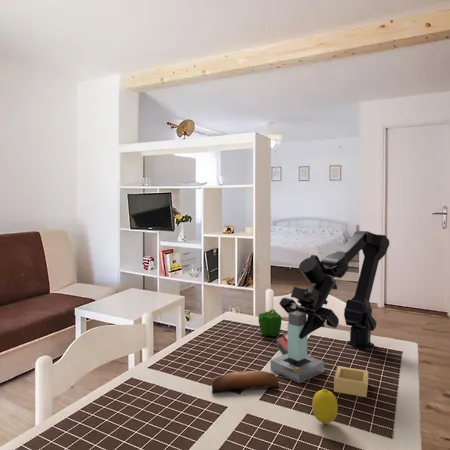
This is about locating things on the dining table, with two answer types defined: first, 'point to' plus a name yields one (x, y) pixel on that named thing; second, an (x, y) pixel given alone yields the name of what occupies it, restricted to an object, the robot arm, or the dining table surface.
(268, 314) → the bell pepper
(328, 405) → the lemon
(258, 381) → the sunglasses case
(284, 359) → the port block
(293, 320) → the plug
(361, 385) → the yellow square socket
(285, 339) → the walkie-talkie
